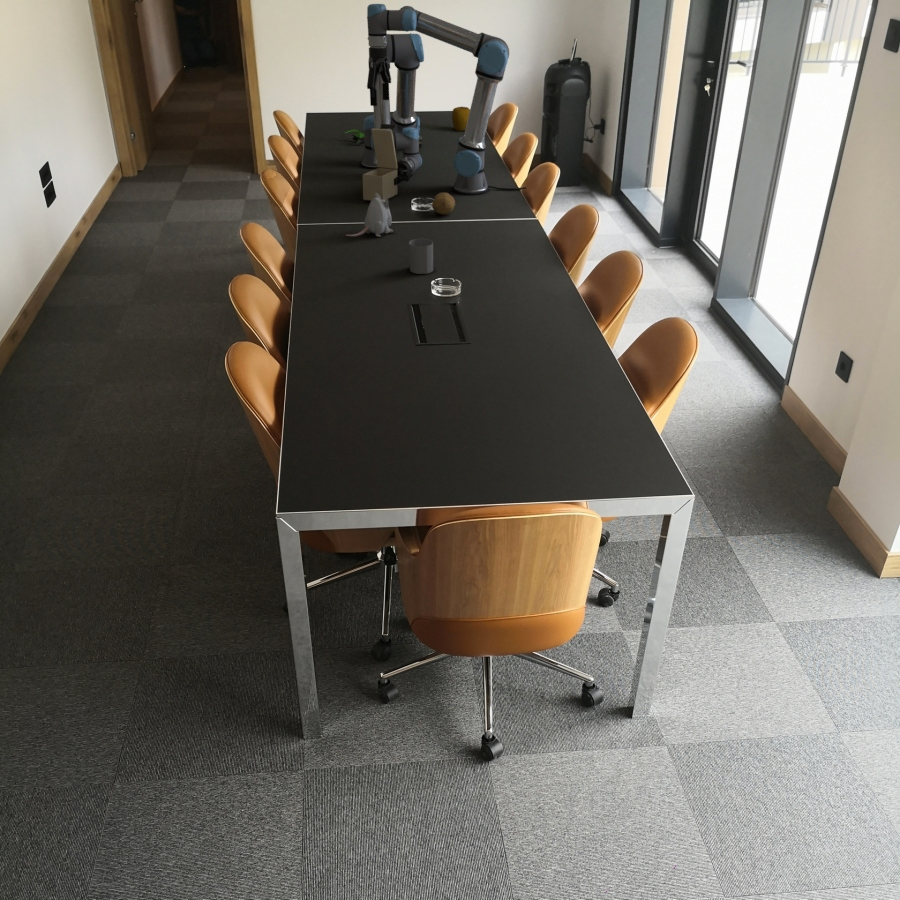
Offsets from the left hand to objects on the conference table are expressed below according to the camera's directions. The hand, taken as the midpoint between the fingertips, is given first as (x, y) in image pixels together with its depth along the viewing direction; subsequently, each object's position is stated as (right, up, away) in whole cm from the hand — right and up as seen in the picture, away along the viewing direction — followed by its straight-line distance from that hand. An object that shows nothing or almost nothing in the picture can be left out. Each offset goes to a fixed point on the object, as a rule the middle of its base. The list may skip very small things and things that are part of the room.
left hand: (384, 181), depth 382 cm
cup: (+19, -55, -74) cm, 94 cm away
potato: (+26, -20, -19) cm, 38 cm away
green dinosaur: (-13, +47, +85) cm, 98 cm away
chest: (-2, -7, -1) cm, 7 cm away
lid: (0, +12, -6) cm, 13 cm away
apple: (+35, +62, +109) cm, 130 cm away
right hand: (0, +27, -18) cm, 33 cm away
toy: (-3, -36, -44) cm, 57 cm away
